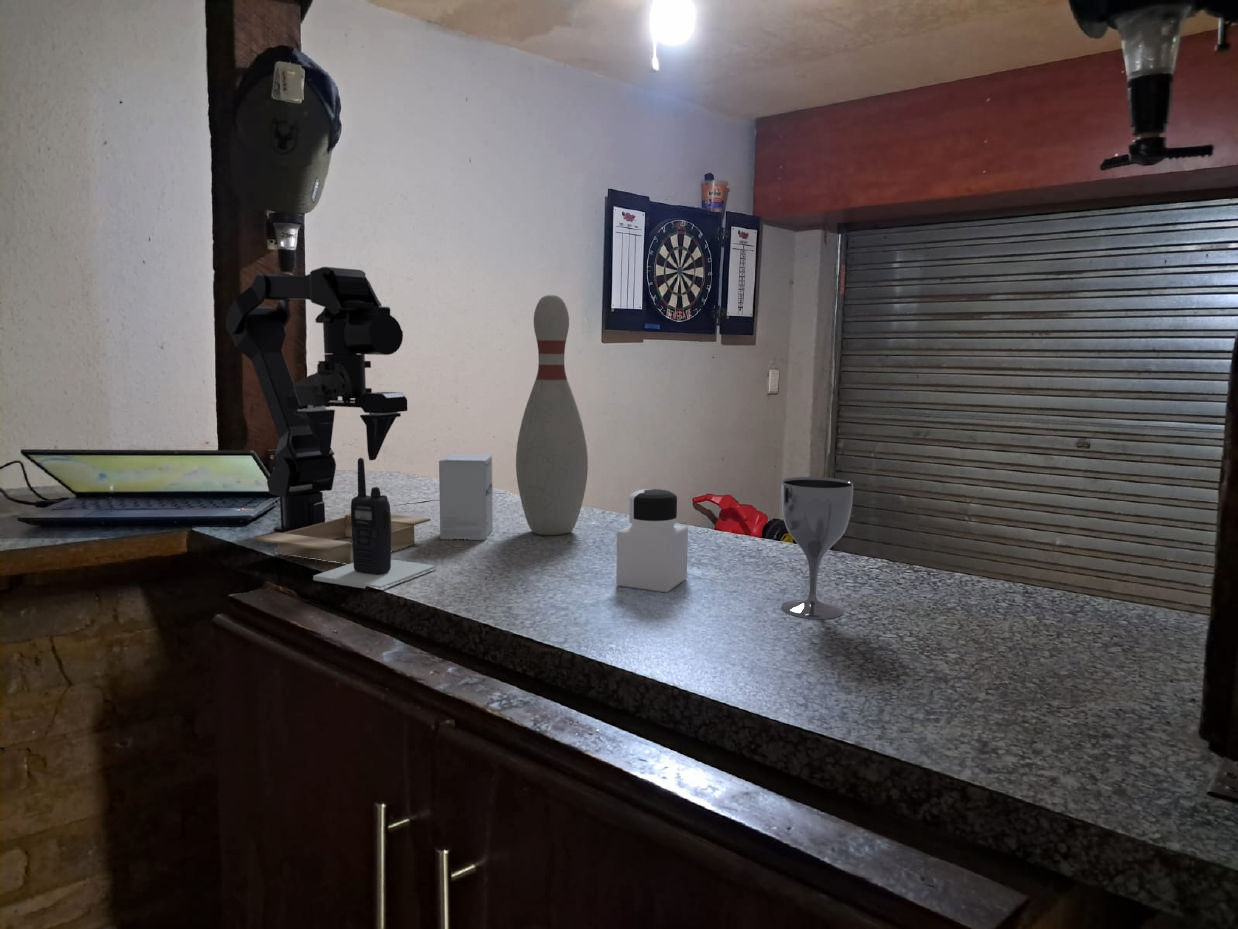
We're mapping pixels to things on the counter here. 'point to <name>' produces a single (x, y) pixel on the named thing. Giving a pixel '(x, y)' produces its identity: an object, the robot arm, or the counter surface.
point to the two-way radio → (370, 528)
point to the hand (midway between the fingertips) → (348, 458)
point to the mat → (373, 575)
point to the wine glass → (815, 531)
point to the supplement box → (466, 497)
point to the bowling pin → (551, 433)
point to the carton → (321, 537)
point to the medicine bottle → (652, 543)
